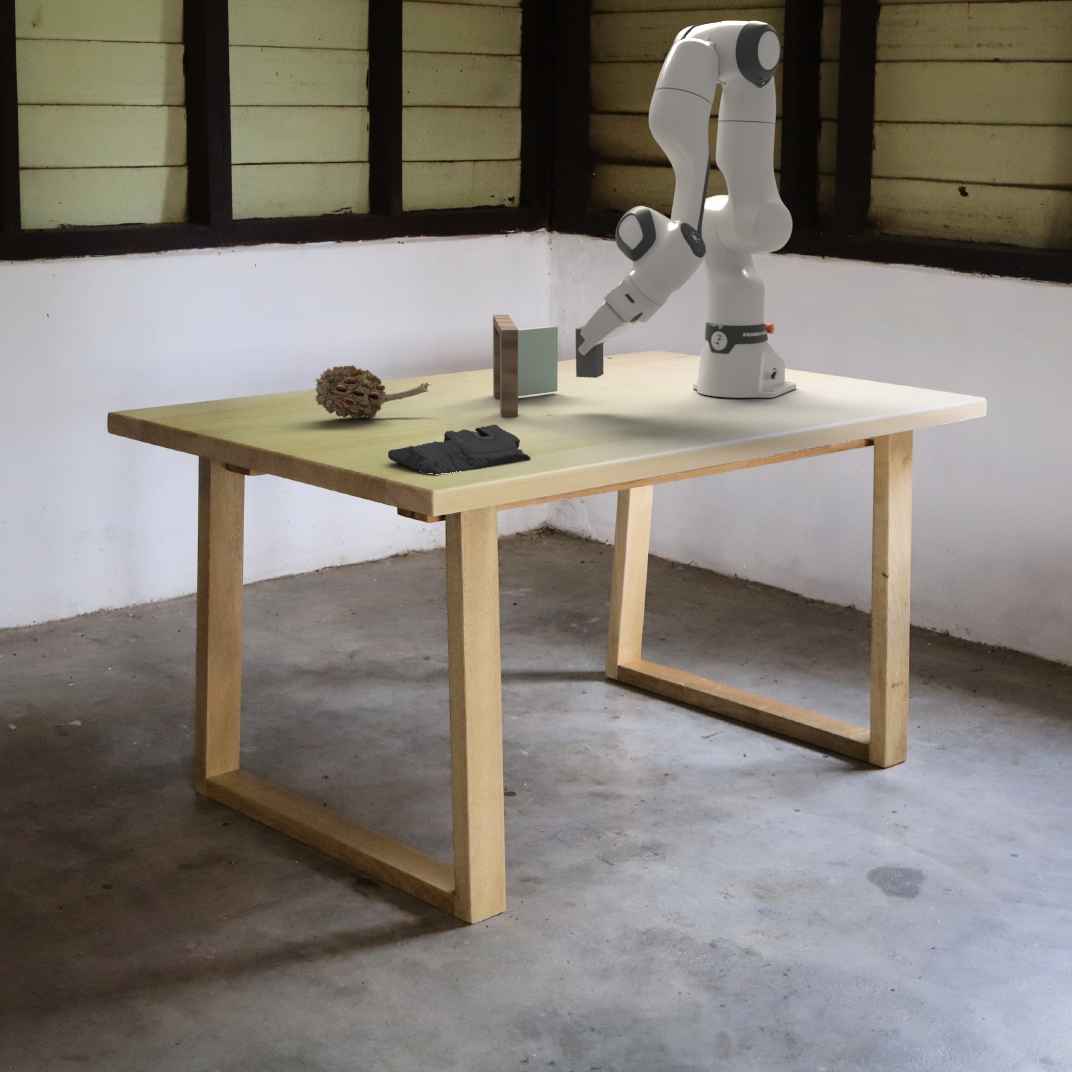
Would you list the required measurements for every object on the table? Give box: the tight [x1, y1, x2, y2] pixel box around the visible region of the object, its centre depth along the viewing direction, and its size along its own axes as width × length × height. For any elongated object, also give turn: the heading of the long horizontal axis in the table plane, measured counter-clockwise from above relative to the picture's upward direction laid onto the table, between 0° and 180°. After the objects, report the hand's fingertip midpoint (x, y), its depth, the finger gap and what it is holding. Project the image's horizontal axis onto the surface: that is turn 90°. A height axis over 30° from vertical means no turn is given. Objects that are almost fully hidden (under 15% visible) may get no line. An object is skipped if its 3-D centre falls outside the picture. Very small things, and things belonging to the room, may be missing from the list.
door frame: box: [492, 314, 519, 418], centre depth 289 cm, size 25×3×16 cm, turn 5°
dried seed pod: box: [314, 365, 431, 420], centre depth 277 cm, size 22×10×10 cm, turn 117°
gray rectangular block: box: [575, 325, 604, 379], centre depth 284 cm, size 4×4×9 cm
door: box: [517, 325, 559, 397], centre depth 300 cm, size 13×3×13 cm, turn 130°
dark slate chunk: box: [387, 424, 532, 474], centre depth 241 cm, size 15×22×5 cm
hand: (586, 350), depth 284 cm, fingers closed on gray rectangular block, 4 cm apart
